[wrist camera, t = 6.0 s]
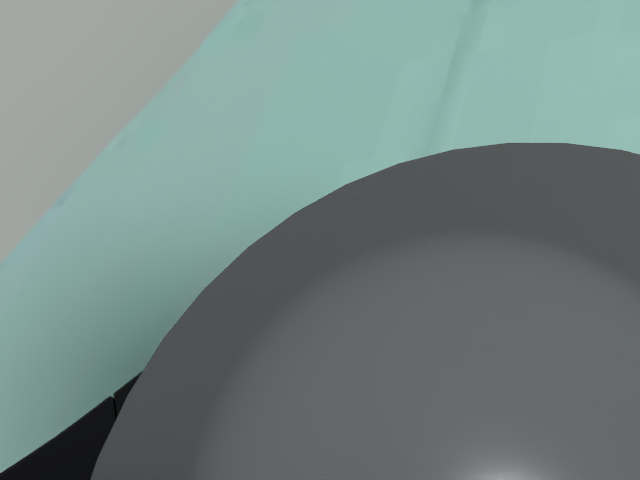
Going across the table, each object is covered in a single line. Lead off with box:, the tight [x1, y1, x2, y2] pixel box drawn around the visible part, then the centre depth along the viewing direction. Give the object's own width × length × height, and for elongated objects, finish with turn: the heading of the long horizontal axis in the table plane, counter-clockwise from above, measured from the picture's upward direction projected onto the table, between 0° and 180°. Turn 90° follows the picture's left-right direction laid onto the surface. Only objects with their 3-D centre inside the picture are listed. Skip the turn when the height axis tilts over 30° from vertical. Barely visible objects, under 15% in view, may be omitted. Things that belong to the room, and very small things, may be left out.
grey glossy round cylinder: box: [90, 143, 640, 480], centre depth 8 cm, size 4×4×13 cm
